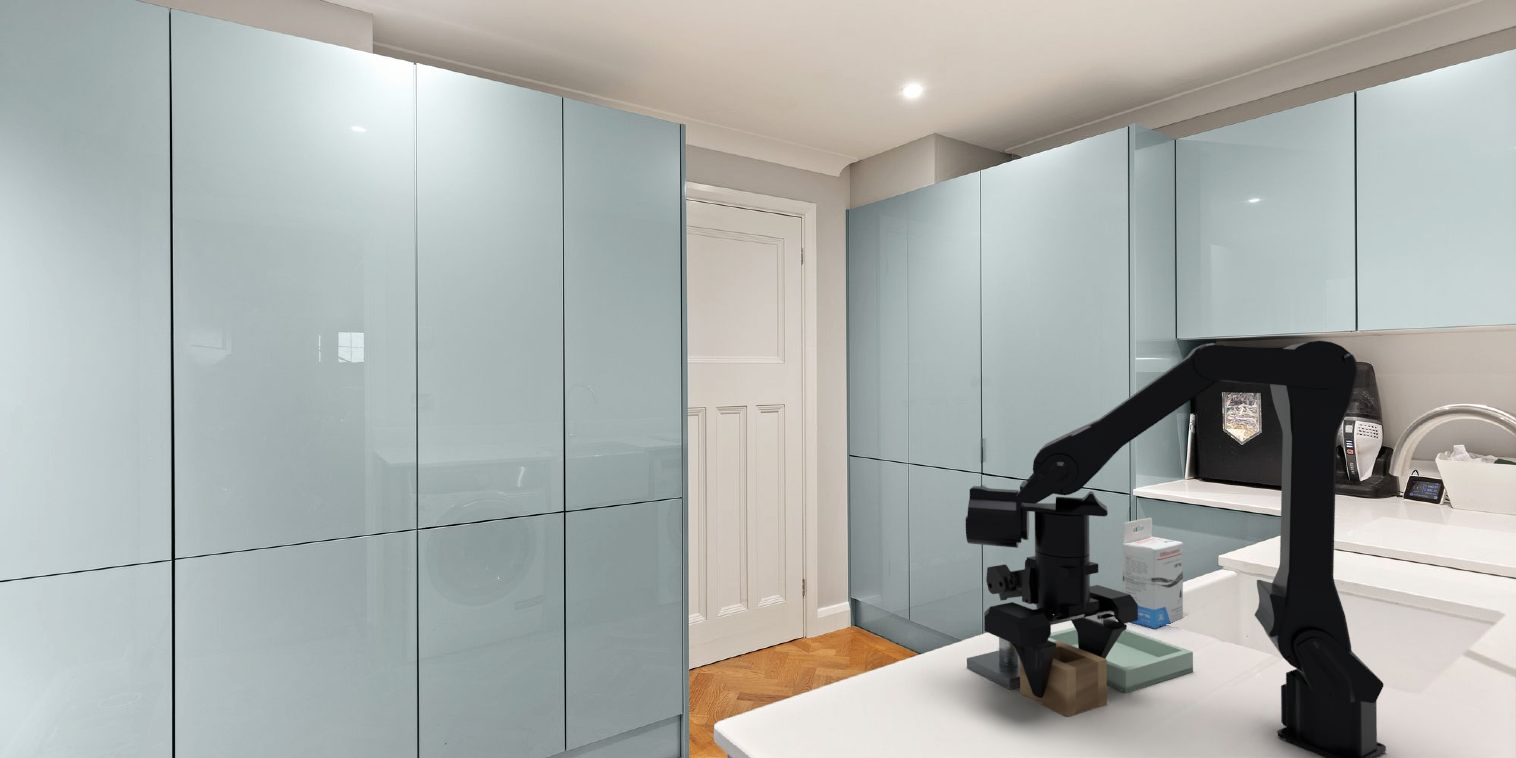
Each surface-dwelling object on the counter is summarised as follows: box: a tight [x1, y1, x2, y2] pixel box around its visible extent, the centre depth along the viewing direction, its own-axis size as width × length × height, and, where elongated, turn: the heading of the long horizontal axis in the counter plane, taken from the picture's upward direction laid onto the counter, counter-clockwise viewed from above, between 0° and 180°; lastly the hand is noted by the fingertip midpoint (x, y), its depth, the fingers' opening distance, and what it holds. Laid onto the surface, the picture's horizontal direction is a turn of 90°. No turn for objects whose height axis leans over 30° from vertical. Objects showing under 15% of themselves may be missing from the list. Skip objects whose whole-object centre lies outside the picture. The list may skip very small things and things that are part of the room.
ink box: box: [1122, 516, 1184, 629], centre depth 105 cm, size 8×5×15 cm, turn 123°
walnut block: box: [1019, 641, 1108, 718], centre depth 79 cm, size 6×6×5 cm
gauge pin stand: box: [966, 637, 1020, 690], centre depth 86 cm, size 7×7×7 cm
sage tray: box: [1048, 626, 1194, 693], centre depth 89 cm, size 13×13×2 cm
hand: (1062, 689), depth 79 cm, fingers open, 8 cm apart
